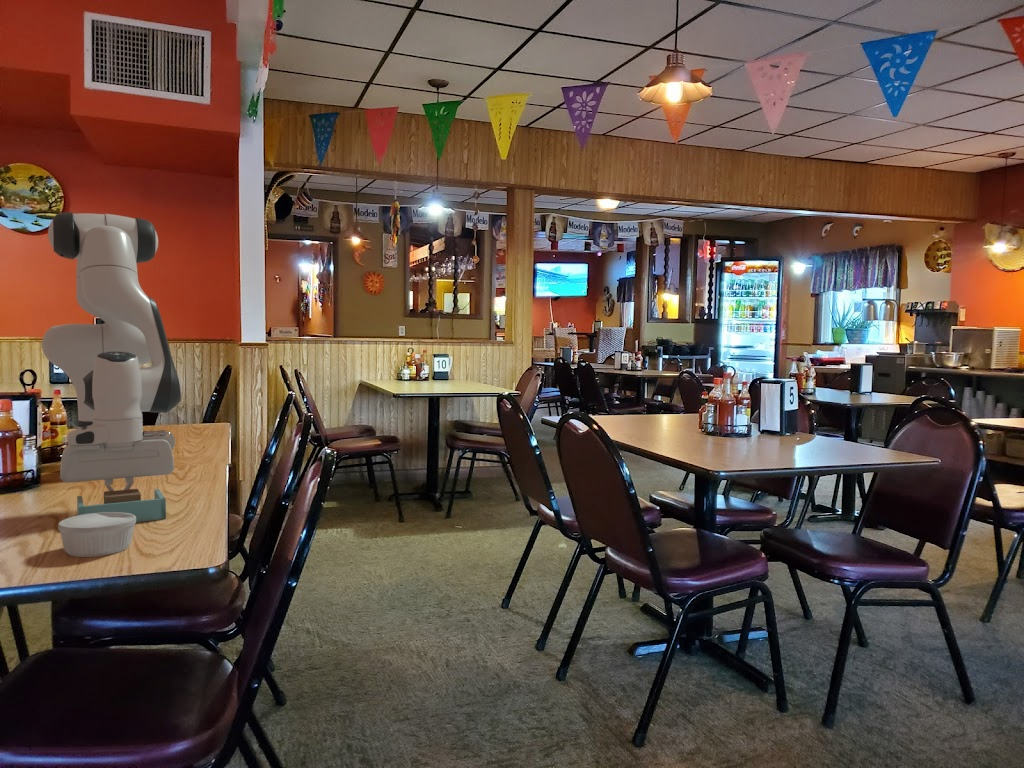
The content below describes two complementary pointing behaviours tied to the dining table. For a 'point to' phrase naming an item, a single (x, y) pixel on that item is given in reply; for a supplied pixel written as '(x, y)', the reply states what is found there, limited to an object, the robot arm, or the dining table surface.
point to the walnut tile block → (121, 496)
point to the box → (130, 508)
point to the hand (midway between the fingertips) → (119, 499)
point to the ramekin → (97, 533)
